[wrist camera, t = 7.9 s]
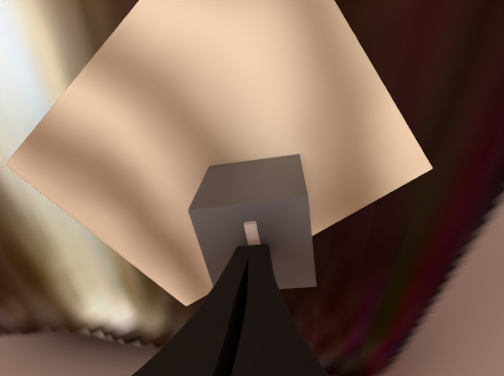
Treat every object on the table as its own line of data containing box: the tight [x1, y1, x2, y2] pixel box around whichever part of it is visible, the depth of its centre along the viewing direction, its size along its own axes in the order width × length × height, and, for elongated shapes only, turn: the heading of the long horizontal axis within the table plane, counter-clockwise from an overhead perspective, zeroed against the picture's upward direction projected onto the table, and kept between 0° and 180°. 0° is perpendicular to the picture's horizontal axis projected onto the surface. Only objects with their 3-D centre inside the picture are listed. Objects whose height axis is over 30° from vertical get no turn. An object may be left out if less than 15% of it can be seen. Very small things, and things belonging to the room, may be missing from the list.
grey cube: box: [188, 154, 316, 289], centre depth 15 cm, size 5×5×5 cm
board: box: [5, 0, 433, 306], centre depth 16 cm, size 19×15×2 cm
